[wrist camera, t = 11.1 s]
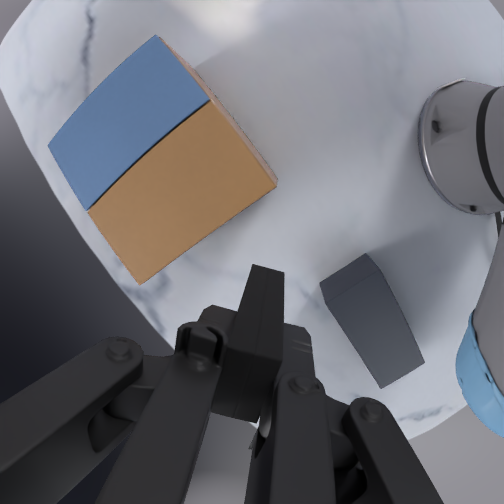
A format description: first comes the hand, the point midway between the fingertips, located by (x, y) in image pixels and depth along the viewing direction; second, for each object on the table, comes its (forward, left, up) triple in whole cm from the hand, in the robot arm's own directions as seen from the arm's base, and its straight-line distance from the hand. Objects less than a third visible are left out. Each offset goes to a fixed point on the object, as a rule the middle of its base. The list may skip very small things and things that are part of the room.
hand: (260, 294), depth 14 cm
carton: (+11, +4, -17) cm, 21 cm away
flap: (+15, +4, -7) cm, 17 cm away
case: (-15, -3, -17) cm, 23 cm away
